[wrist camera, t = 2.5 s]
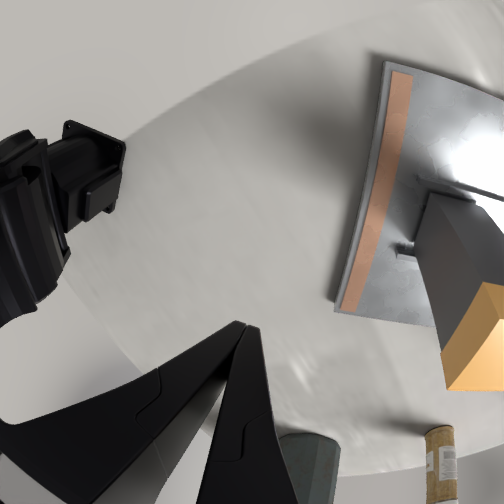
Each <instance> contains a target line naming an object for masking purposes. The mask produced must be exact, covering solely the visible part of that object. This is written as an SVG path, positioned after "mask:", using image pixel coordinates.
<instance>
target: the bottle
mask: <svg viewBox="0 0 504 504" xmlns="http://www.w3.org/2000/svg"><path fill="white" fill-rule="evenodd" d="M278 440H279V444H280V447H281V451H282V454H283V457H284V460H285V463H286V466H287V469H288V472H289V475H290V478H291V481H292V484H293V487H294V490H295V493H296V496H297V499H298V502H299V504H333V501H334V494H335V488H336V481H337V474H338V467H339V459H340V451H341V448H340V446H339V445H338V443H337V442H336V441H335V440H332V439H329V438H326V437H323V436H320V435H316V434H289V435H287V436H285V437H282V438H280V439H278Z"/></svg>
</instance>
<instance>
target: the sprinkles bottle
mask: <svg viewBox="0 0 504 504" xmlns="http://www.w3.org/2000/svg"><path fill="white" fill-rule="evenodd" d="M425 440H426V483H427V500H426V504H458V500H457V499H458V498H457V465H456V450H455V445H454V429H453V428H452V427H450V426H443V427H438V428H435V429H433V430H431V431H429V432H428V433H427V434H426V435H425Z"/></svg>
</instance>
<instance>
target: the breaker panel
mask: <svg viewBox="0 0 504 504" xmlns="http://www.w3.org/2000/svg"><path fill="white" fill-rule="evenodd" d="M430 192H432V193H436V194H440V195H444V196H448V197H451V198H455V199H459V200H462V201H466V202H469V203H473V204H476V205H479V206H482V207H483V208H484V209H485V210H486V211H487V212H488V214H489V215H490V216H491V217H492V219H493V220H494V221H495V222H496V224H497V225H498V226H499V227H500V229H501V230H502V231H503V233H504V101H503V100H501V99H499V98H497V97H494V96H492V95H490V94H487V93H485V92H482V91H480V90H478V89H475V88H472V87H470V86H467V85H465V84H462V83H459V82H456V81H454V80H451V79H448V78H445V77H442V76H439V75H436V74H432V73H429V72H426V71H422V70H419V69H415V68H412V67H408V66H404V65H400V64H397V63H392V62H388V61H383V68H382V76H381V85H380V92H379V100H378V107H377V114H376V120H375V126H374V133H373V138H372V144H371V150H370V155H369V161H368V166H367V171H366V176H365V181H364V186H363V191H362V196H361V200H360V205H359V209H358V214H357V218H356V222H355V227H354V231H353V235H352V239H351V243H350V247H349V251H348V255H347V259H346V263H345V266H344V270H343V274H342V277H341V281H340V285H339V288H338V292H337V295H336V299H335V302H334V312H337V313H343V314H349V315H355V316H361V317H367V318H373V319H380V320H386V321H393V322H400V323H407V324H413V325H421V326H428V327H435V328H436V326H435V322H434V318H433V314H432V310H431V306H430V303H429V299H428V295H427V292H426V288H425V285H424V282H423V278H422V275H421V272H420V269H419V266H418V262H417V259H416V256H415V253H414V250H413V246H414V243H415V240H416V237H417V234H418V231H419V228H420V225H421V222H422V219H423V215H424V212H425V209H426V206H427V202H428V199H429V195H430Z"/></svg>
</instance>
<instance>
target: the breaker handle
mask: <svg viewBox="0 0 504 504" xmlns="http://www.w3.org/2000/svg"><path fill="white" fill-rule="evenodd" d="M413 250H414V253H415V256H416V259H417V262H418V266H419V269H420V272H421V275H422V278H423V282H424V285H425V288H426V292H427V295H428V299H429V303H430V306H431V310H432V314H433V318H434V322H435V326H436V330H437V334H438V339H439V343H440V348H441V353H440V355H441V360H442V365H443V370H444V376H445V382H446V388H447V390H451V391H504V233H503V231H502V230H501V229H500V227H499V226H498V225H497V224H496V222H495V221H494V220H493V219H492V217H491V216H490V215H489V214H488V212H487V211H486V210H485V209H484V208H483V207H482V206H479V205H476V204H473V203H469V202H466V201H462V200H459V199H455V198H451V197H448V196H444V195H440V194H436V193H432V192H430V195H429V199H428V202H427V206H426V209H425V212H424V215H423V219H422V222H421V225H420V228H419V231H418V234H417V237H416V240H415V243H414V246H413Z"/></svg>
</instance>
